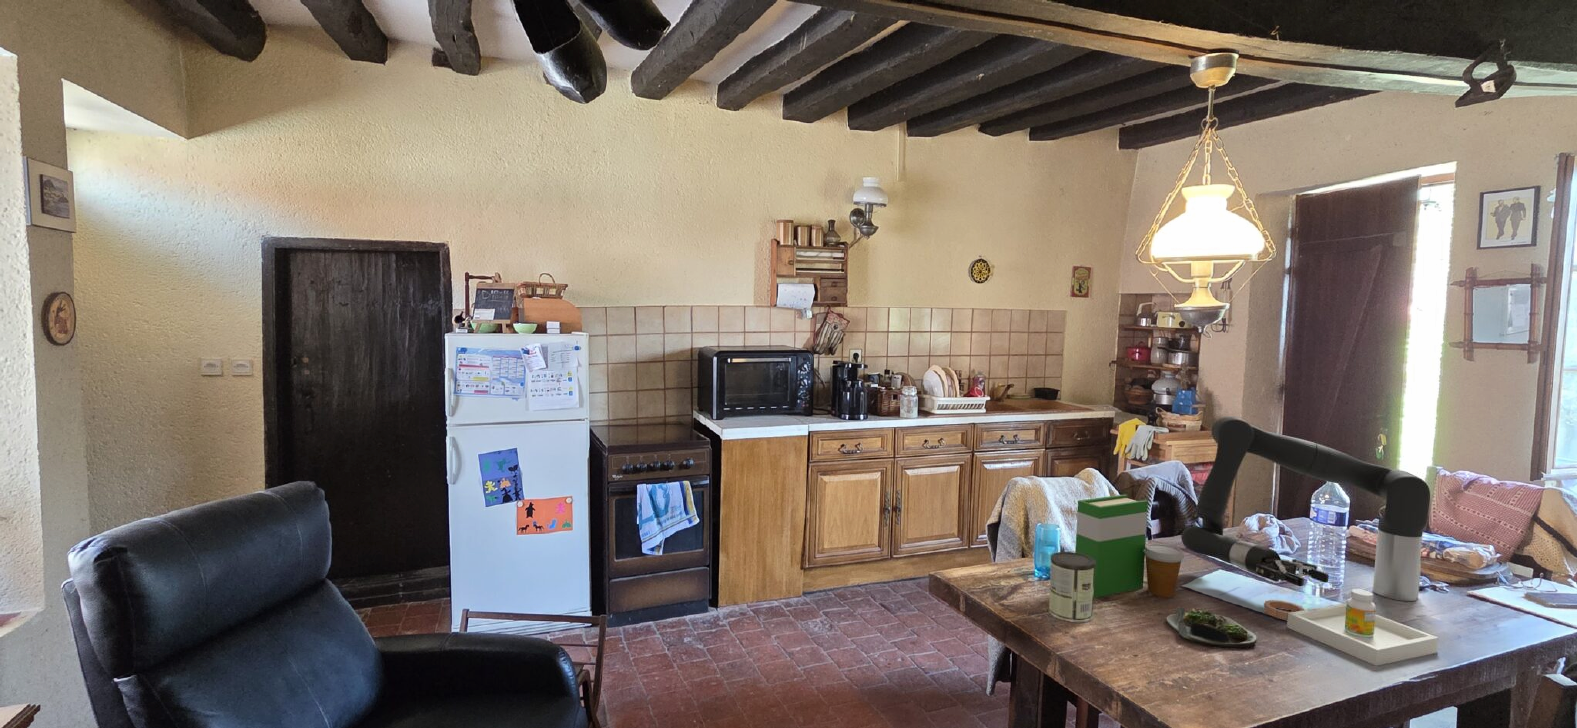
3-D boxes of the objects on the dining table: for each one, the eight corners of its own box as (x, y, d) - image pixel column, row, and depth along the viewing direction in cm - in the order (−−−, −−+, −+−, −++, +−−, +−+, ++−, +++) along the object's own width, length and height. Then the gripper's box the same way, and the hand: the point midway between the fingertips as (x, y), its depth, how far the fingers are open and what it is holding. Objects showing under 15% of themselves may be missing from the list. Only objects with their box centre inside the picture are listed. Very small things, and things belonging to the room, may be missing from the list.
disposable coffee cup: (1186, 601, 194) (1188, 556, 193) (1146, 597, 196) (1149, 553, 195) (1175, 587, 204) (1177, 544, 203) (1137, 584, 206) (1139, 541, 205)
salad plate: (1146, 613, 187) (1147, 595, 186) (1218, 614, 187) (1219, 596, 187) (1188, 649, 168) (1189, 629, 167) (1268, 650, 168) (1269, 630, 167)
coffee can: (1058, 602, 192) (1061, 548, 191) (1099, 614, 185) (1102, 558, 184) (1040, 613, 185) (1043, 558, 184) (1082, 626, 178) (1085, 568, 177)
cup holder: (1280, 605, 193) (1280, 598, 193) (1312, 618, 185) (1313, 611, 185) (1256, 609, 190) (1256, 602, 190) (1288, 622, 182) (1288, 615, 182)
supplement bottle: (1338, 628, 176) (1341, 587, 175) (1359, 627, 176) (1362, 587, 176) (1358, 638, 170) (1361, 596, 170) (1379, 637, 171) (1383, 596, 170)
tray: (1344, 616, 186) (1346, 603, 186) (1437, 652, 167) (1438, 637, 167) (1286, 627, 180) (1287, 612, 179) (1376, 665, 161) (1377, 649, 160)
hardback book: (1120, 578, 210) (1125, 494, 208) (1143, 587, 203) (1148, 500, 201) (1073, 587, 202) (1077, 500, 200) (1095, 597, 196) (1100, 507, 194)
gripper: (1235, 547, 196) (1295, 568, 180) (1274, 542, 200) (1336, 562, 185) (1233, 575, 196) (1293, 598, 181) (1272, 569, 201) (1334, 591, 186)
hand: (1315, 580), depth 183 cm, fingers open, 8 cm apart
